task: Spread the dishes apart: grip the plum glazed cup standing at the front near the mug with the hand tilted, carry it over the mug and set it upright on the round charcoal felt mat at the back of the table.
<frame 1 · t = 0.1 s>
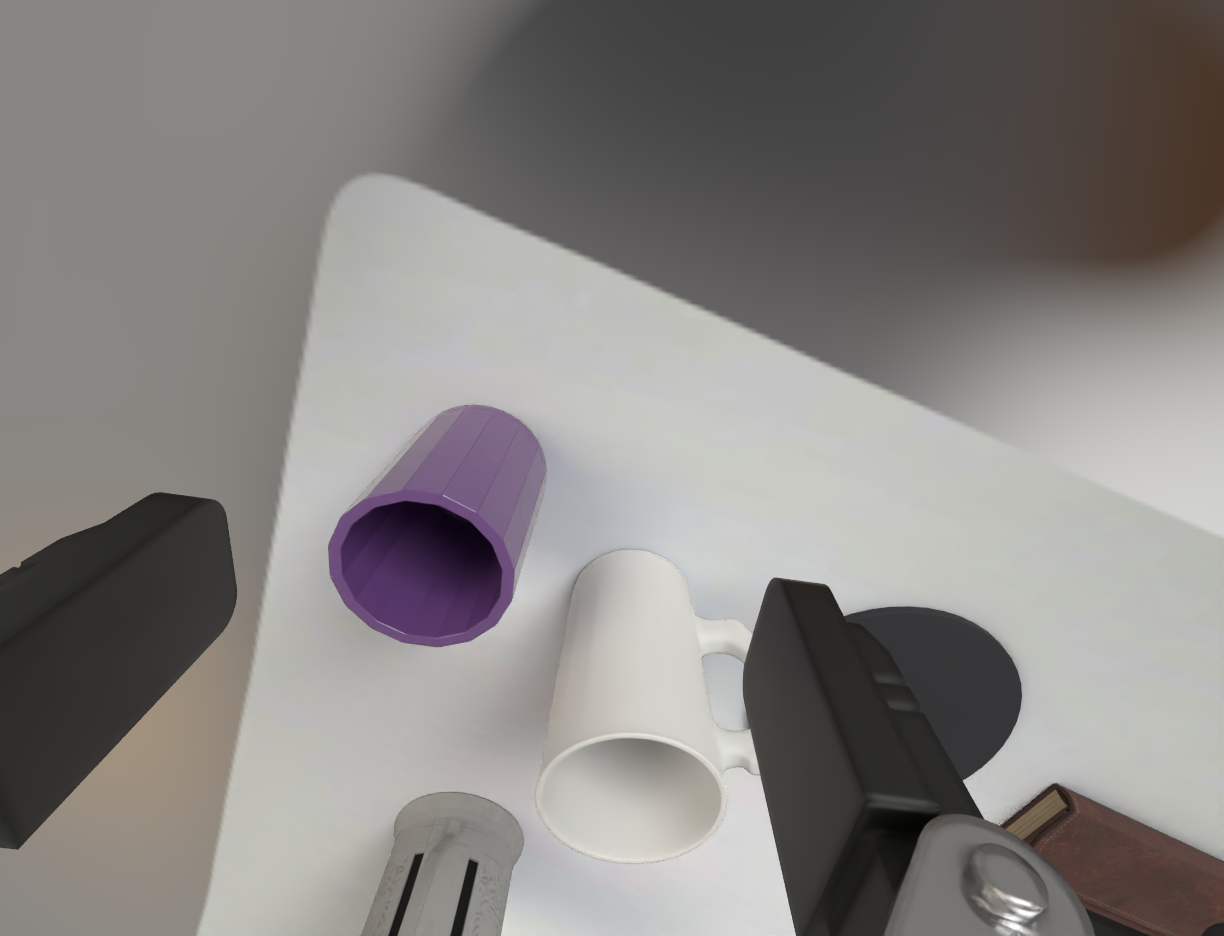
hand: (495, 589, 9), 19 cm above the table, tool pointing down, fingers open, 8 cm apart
cup: (480, 468, 29), on the table
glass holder: (462, 807, 40), on the table
notebook: (1083, 893, 41), on the table
mug: (661, 593, 32), on the table
mat: (881, 711, 35), on the table
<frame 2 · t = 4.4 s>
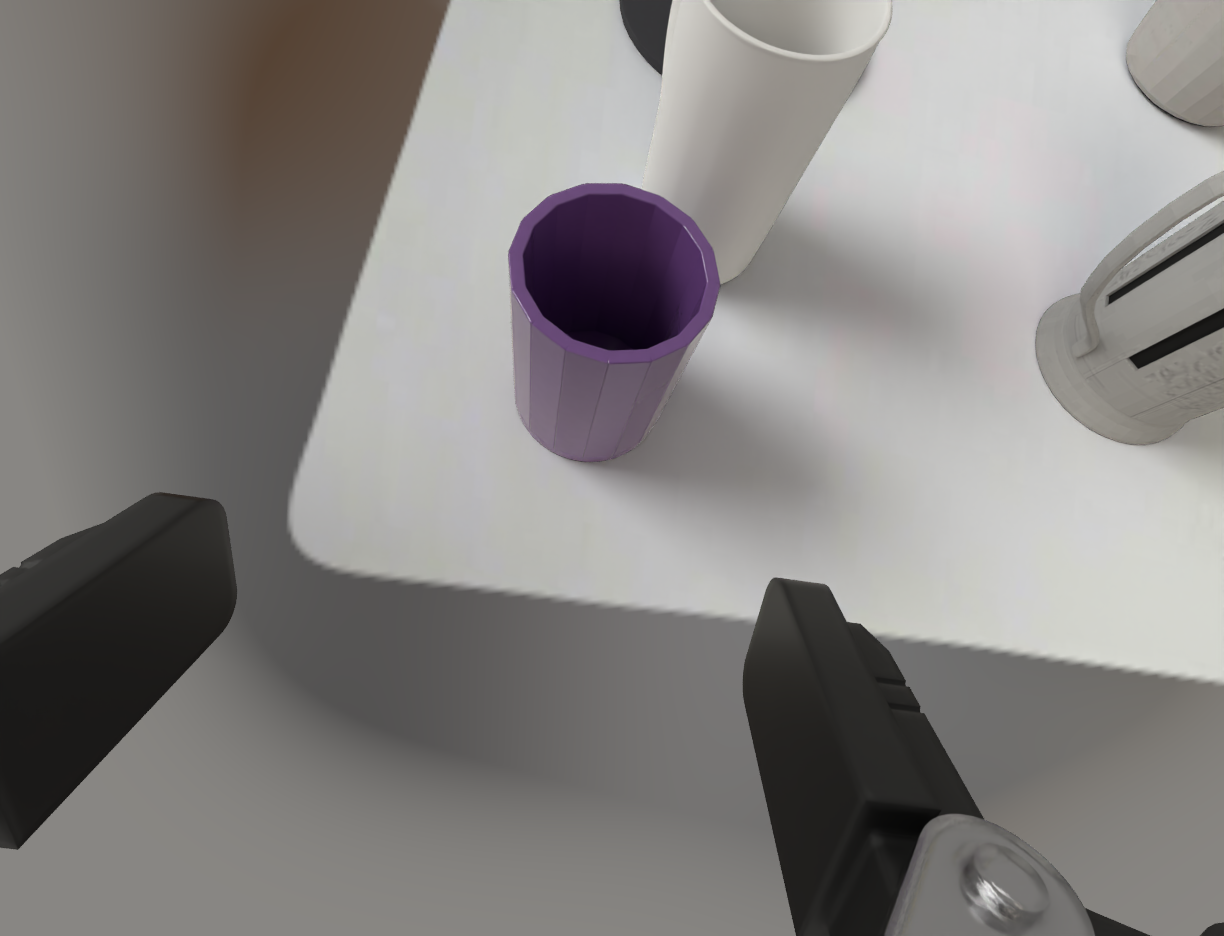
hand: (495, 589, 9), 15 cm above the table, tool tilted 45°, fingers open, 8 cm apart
cup: (588, 393, 27), on the table
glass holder: (1064, 369, 31), on the table
mug: (681, 212, 31), on the table
mat: (743, 18, 36), on the table
potted plant: (1175, 75, 40), on the table
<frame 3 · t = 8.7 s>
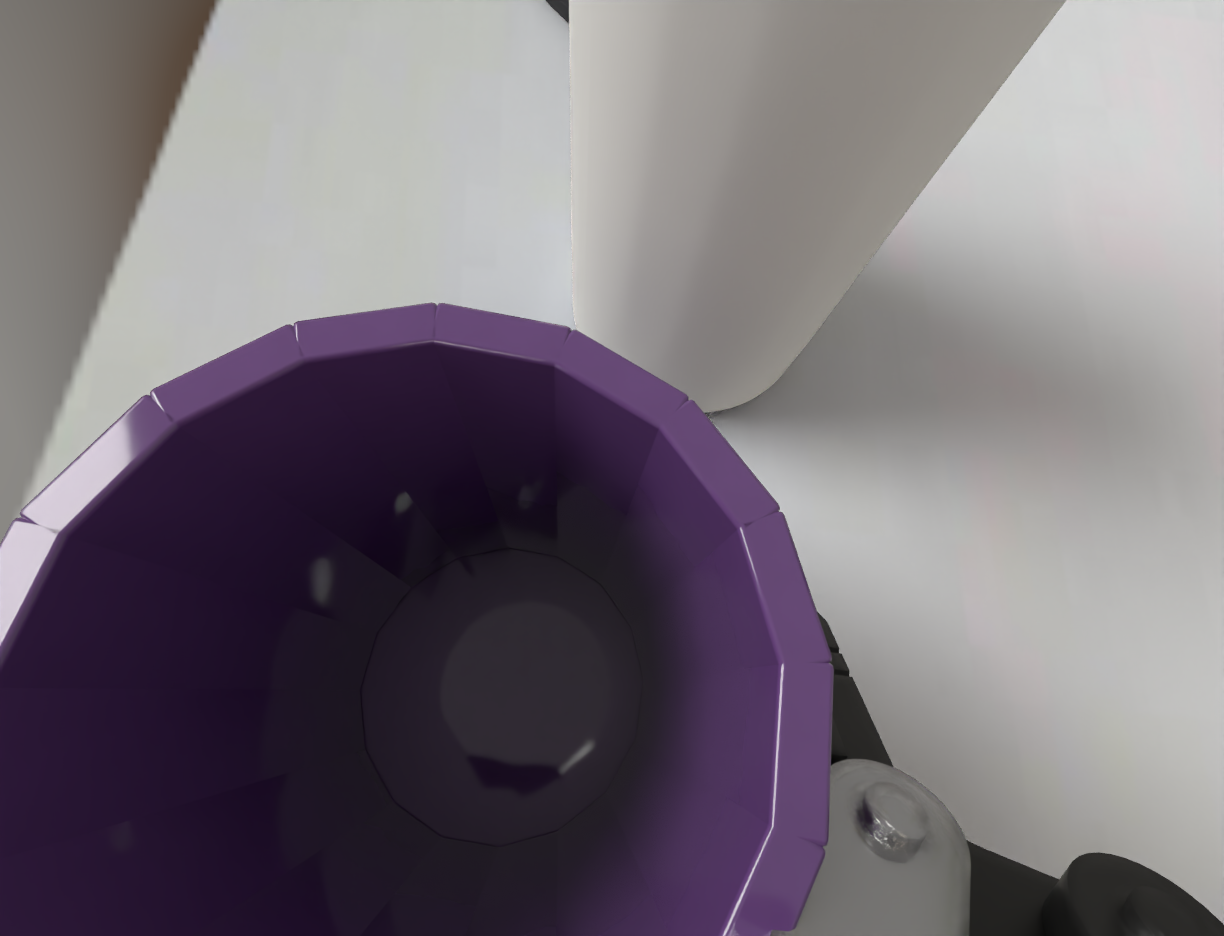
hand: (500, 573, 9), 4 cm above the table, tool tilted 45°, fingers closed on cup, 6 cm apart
cup: (507, 685, 13), on the table, touching gripper
mug: (657, 273, 17), on the table
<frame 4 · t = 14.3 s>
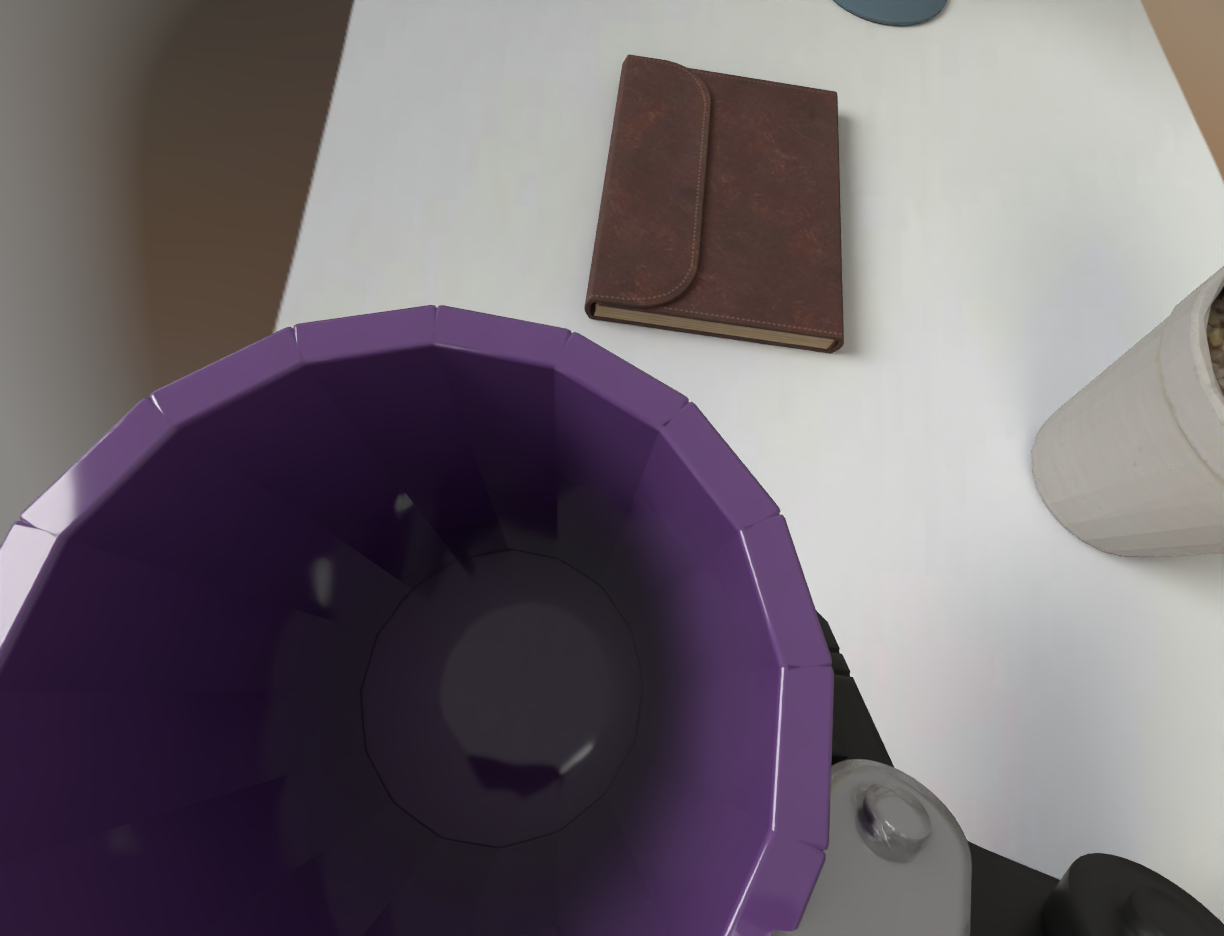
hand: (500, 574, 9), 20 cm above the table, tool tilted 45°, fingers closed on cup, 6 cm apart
cup: (507, 686, 13), point 16 cm above the table, touching gripper
notebook: (718, 208, 39), on the table
potted plant: (1093, 472, 34), on the table
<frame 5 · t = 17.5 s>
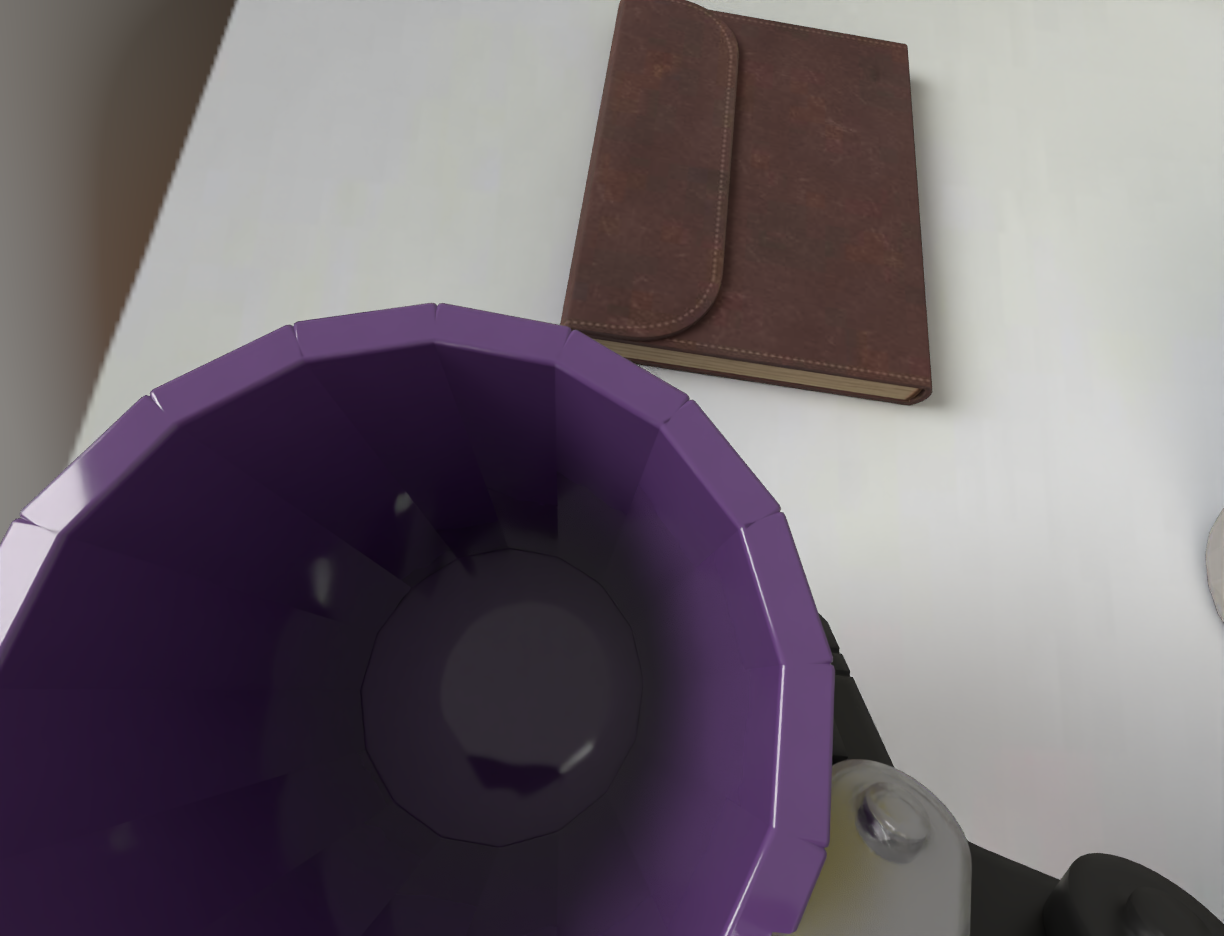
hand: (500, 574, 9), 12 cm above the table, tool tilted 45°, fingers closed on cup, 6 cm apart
cup: (507, 685, 13), point 8 cm above the table, touching gripper
notebook: (748, 198, 28), on the table
when the fingers open (5 cm above the table, at t = 20.1 s): cup stays where it is, resting on mat.
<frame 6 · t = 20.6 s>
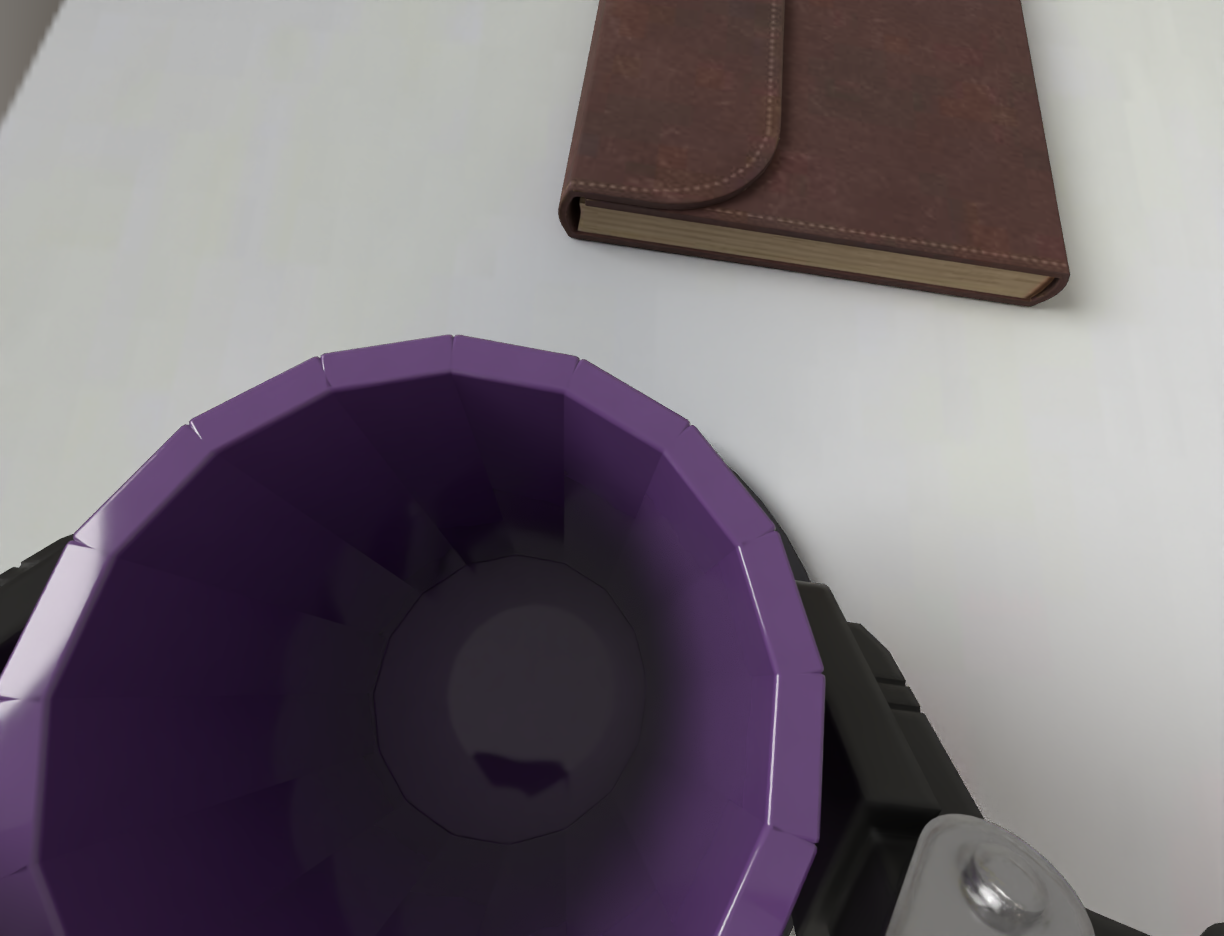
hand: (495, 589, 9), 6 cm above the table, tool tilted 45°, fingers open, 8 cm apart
cup: (515, 688, 13), resting on mat
notebook: (802, 58, 22), on the table
mat: (512, 685, 14), on the table
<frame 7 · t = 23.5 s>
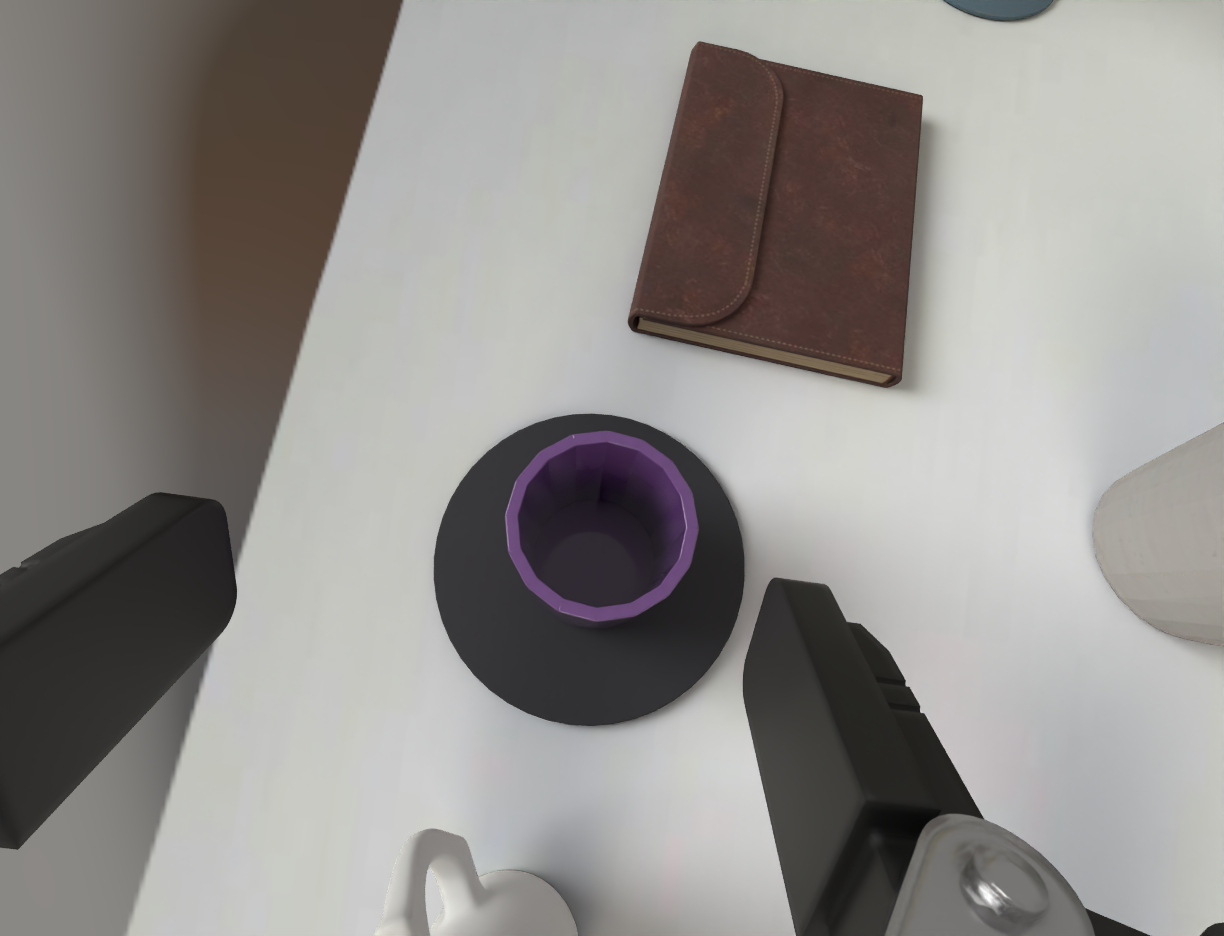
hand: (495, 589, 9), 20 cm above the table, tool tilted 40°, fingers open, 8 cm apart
cup: (593, 559, 29), resting on mat
notebook: (780, 217, 36), on the table
mug: (492, 910, 25), on the table
mat: (591, 559, 29), on the table
potted plant: (1160, 542, 32), on the table
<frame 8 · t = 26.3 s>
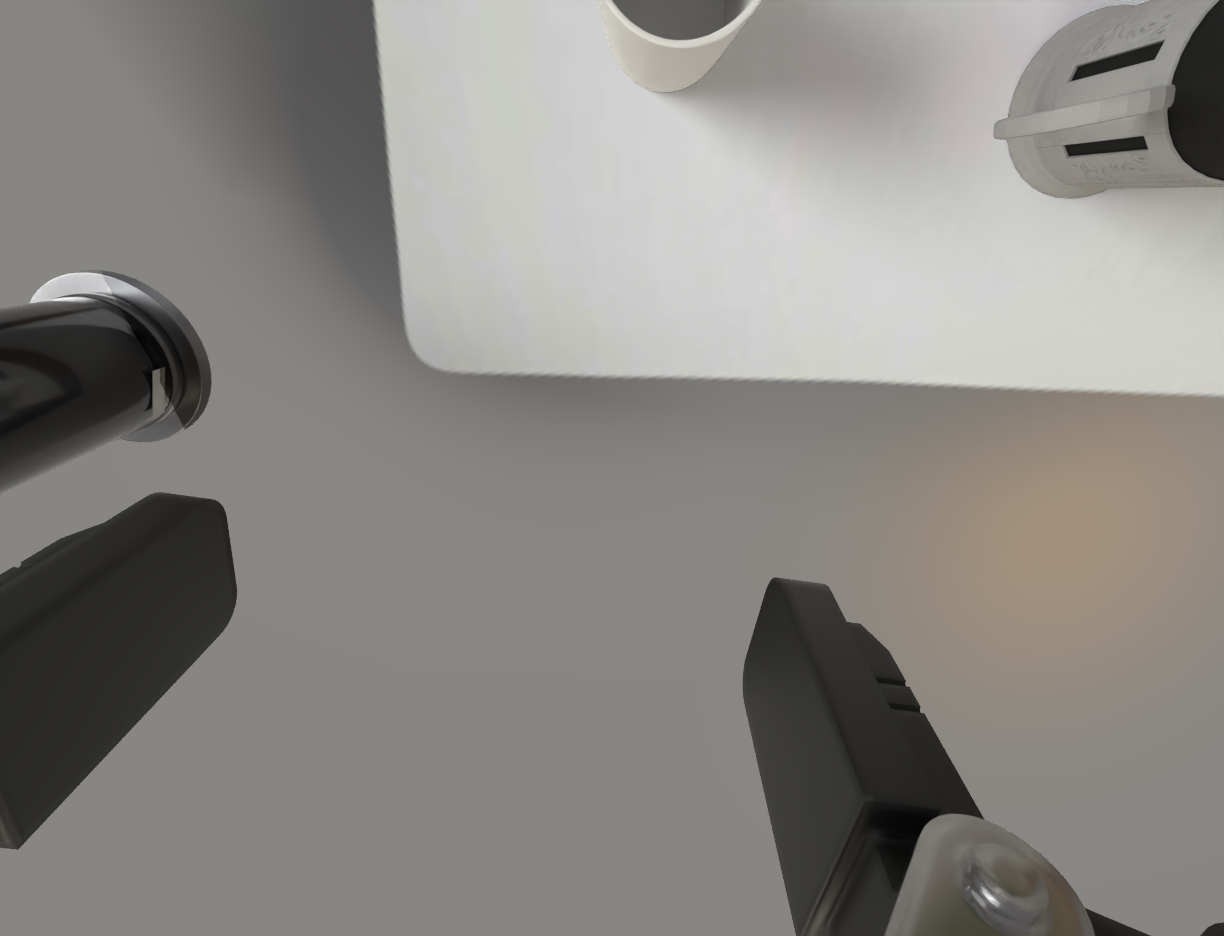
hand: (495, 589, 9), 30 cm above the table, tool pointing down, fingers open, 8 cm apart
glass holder: (1037, 119, 32), on the table
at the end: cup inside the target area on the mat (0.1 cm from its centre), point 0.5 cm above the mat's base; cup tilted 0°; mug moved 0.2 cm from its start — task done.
